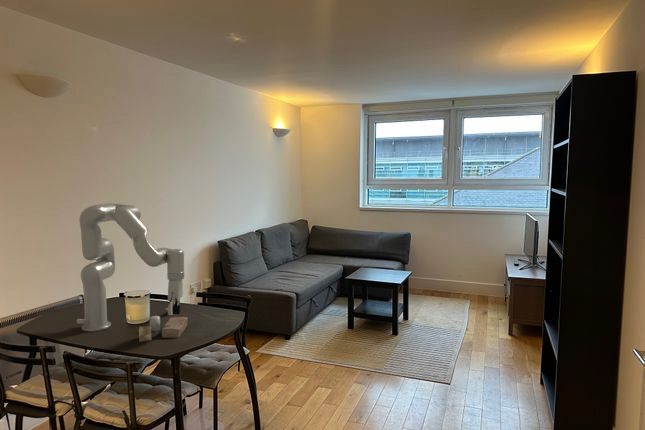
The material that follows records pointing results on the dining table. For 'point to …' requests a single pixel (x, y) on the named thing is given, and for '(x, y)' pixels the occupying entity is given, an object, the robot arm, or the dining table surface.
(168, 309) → the architectural model
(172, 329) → the brick
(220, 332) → the dining table surface
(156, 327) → the grey cylinder
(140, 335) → the beech cube
